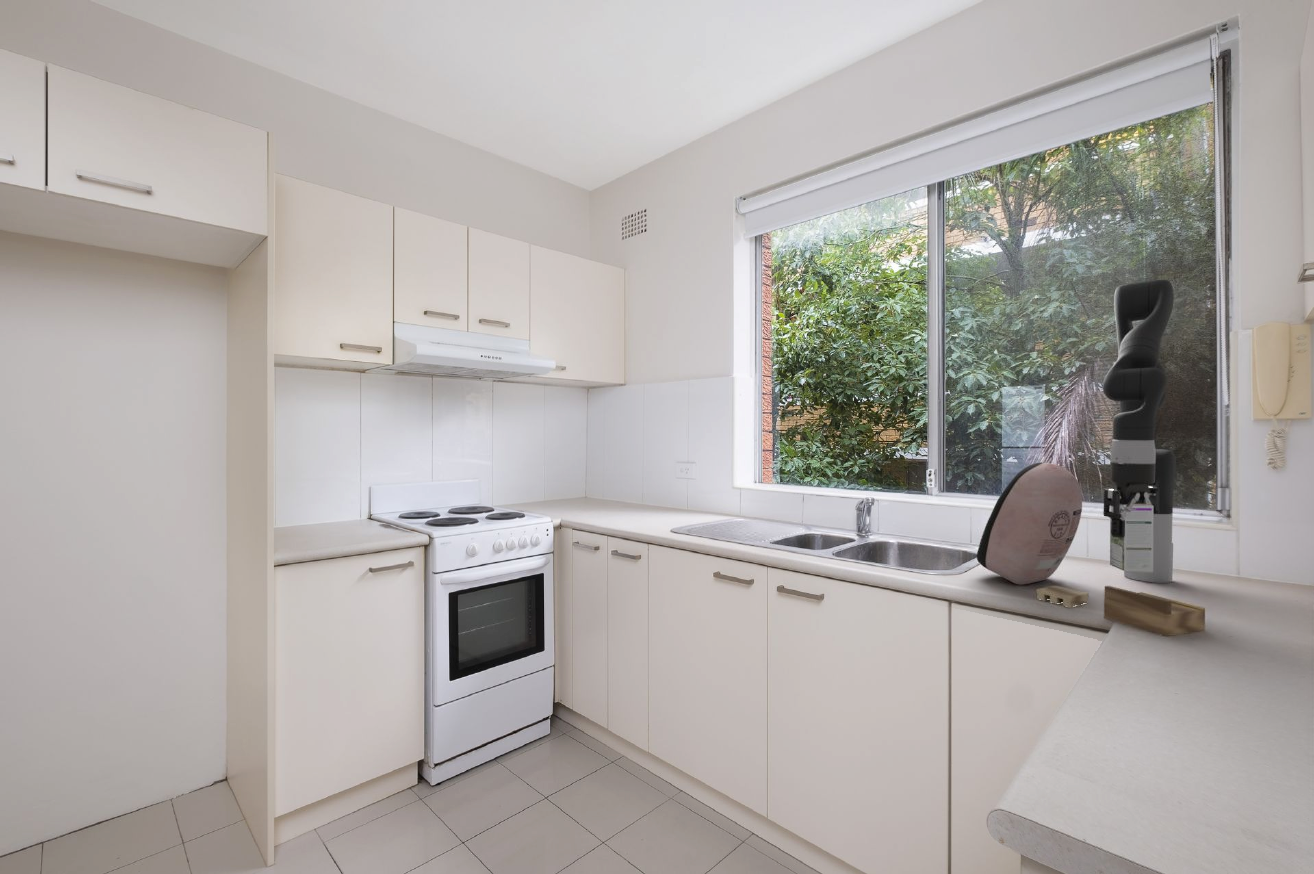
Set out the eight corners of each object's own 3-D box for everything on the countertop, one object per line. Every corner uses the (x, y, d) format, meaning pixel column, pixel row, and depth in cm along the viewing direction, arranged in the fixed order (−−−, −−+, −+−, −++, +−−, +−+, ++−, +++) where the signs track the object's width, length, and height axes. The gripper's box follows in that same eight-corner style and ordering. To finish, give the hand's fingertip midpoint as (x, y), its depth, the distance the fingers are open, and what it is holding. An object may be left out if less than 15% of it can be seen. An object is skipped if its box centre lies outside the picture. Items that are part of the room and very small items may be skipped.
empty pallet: (1053, 595, 134) (1053, 585, 134) (1088, 603, 128) (1088, 593, 128) (1036, 599, 130) (1036, 589, 130) (1071, 608, 124) (1071, 597, 124)
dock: (1140, 612, 122) (1141, 582, 122) (1204, 630, 111) (1205, 596, 111) (1103, 617, 118) (1104, 586, 118) (1166, 636, 108) (1167, 601, 108)
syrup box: (1154, 572, 124) (1156, 504, 123) (1122, 571, 125) (1124, 504, 125) (1138, 566, 130) (1139, 500, 129) (1108, 565, 131) (1109, 500, 130)
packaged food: (1013, 568, 160) (1015, 458, 159) (1095, 585, 143) (1098, 463, 142) (964, 578, 149) (967, 460, 148) (1048, 598, 132) (1051, 465, 131)
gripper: (1136, 458, 132) (1134, 530, 133) (1091, 460, 128) (1090, 534, 128) (1174, 461, 125) (1172, 536, 126) (1129, 463, 121) (1127, 541, 121)
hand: (1131, 535), depth 127 cm, fingers closed on syrup box, 8 cm apart
